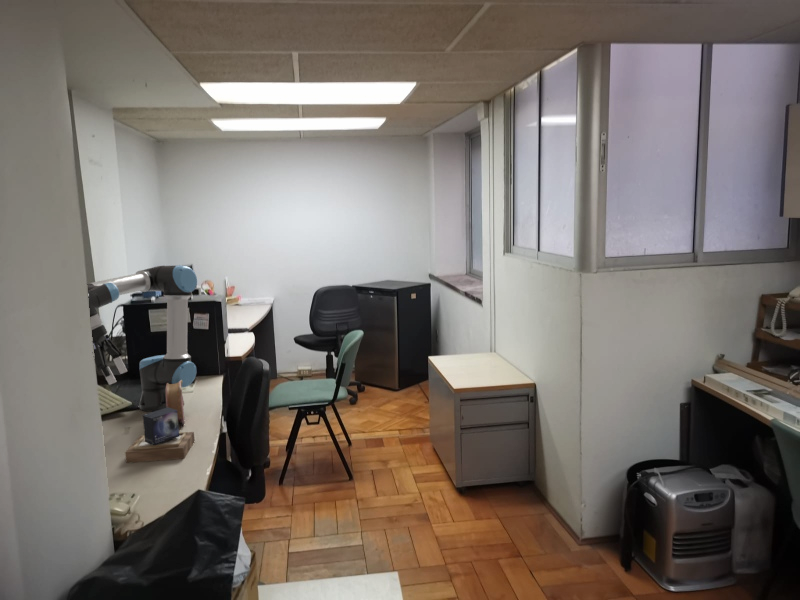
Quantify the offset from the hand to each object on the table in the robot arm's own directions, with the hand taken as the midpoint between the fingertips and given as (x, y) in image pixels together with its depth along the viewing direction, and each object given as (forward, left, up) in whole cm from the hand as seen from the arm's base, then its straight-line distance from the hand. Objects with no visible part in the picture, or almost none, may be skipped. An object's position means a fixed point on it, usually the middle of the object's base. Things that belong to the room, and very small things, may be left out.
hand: (118, 377), depth 232 cm
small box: (+15, +18, -21) cm, 31 cm away
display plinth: (+14, +18, -25) cm, 34 cm away
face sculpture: (-18, +15, -26) cm, 35 cm away
